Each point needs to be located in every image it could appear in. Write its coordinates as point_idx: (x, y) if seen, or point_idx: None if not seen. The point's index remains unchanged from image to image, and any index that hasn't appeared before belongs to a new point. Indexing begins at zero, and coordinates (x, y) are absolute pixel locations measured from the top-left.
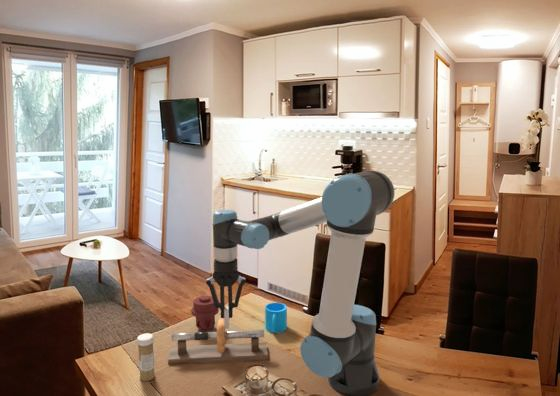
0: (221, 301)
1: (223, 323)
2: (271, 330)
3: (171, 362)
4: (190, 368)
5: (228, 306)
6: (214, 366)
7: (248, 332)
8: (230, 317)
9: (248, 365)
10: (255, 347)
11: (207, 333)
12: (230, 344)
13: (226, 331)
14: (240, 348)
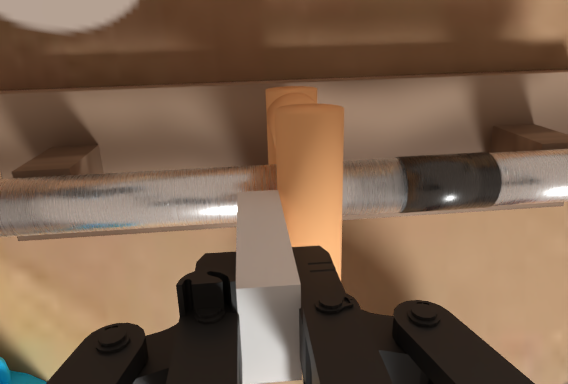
0: (370, 382)
1: None
2: (22, 380)
3: (558, 70)
4: (453, 12)
5: (248, 381)
6: (318, 26)
7: (76, 195)
8: (220, 255)
9: (110, 25)
10: (64, 153)
11: (409, 182)
12: None
13: None
14: None
